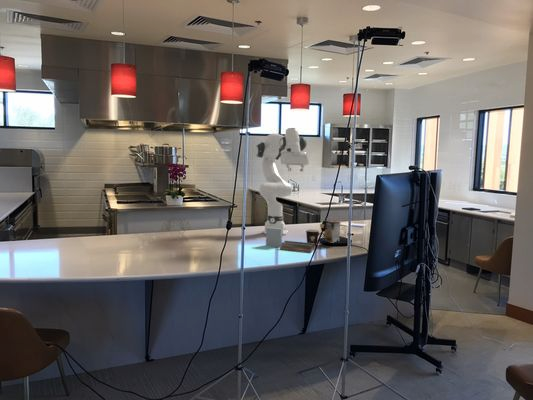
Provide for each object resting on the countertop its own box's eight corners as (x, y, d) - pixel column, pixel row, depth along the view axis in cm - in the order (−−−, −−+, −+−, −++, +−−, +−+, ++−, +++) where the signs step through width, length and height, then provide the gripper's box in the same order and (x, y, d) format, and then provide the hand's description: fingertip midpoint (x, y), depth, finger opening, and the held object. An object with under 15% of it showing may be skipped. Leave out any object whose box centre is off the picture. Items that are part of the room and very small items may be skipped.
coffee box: (323, 243, 315) (324, 220, 313) (329, 242, 319) (330, 219, 317) (332, 246, 307) (333, 222, 306) (339, 245, 311) (340, 221, 310)
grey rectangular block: (267, 244, 305) (267, 227, 304) (281, 246, 302) (282, 228, 301) (265, 245, 302) (266, 227, 301) (280, 247, 299) (280, 229, 298)
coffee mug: (303, 245, 307) (304, 230, 306) (308, 243, 314) (309, 229, 313) (319, 247, 301) (320, 232, 300) (324, 245, 309) (325, 230, 308)
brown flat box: (286, 245, 305) (286, 239, 304) (315, 248, 298) (315, 242, 298) (279, 249, 292) (280, 243, 291) (310, 252, 285) (310, 246, 285)
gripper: (304, 153, 314) (306, 172, 311) (278, 151, 304) (280, 171, 302) (309, 150, 308) (311, 170, 306) (283, 148, 299) (285, 169, 296)
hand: (295, 171), depth 304 cm, fingers open, 8 cm apart
